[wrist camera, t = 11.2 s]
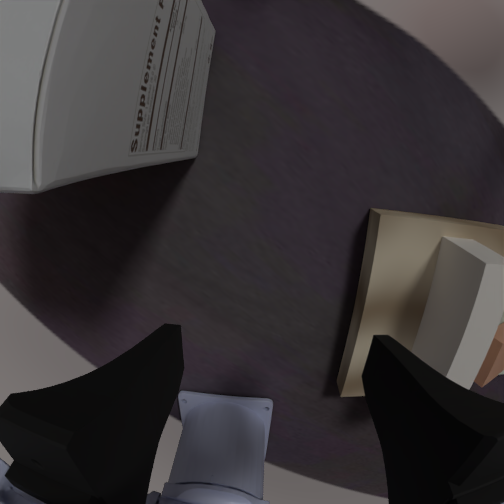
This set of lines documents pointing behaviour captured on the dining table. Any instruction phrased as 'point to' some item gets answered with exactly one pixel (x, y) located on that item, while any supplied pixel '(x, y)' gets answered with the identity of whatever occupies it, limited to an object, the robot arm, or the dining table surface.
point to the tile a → (492, 359)
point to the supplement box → (98, 87)
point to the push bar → (461, 309)
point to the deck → (399, 281)
